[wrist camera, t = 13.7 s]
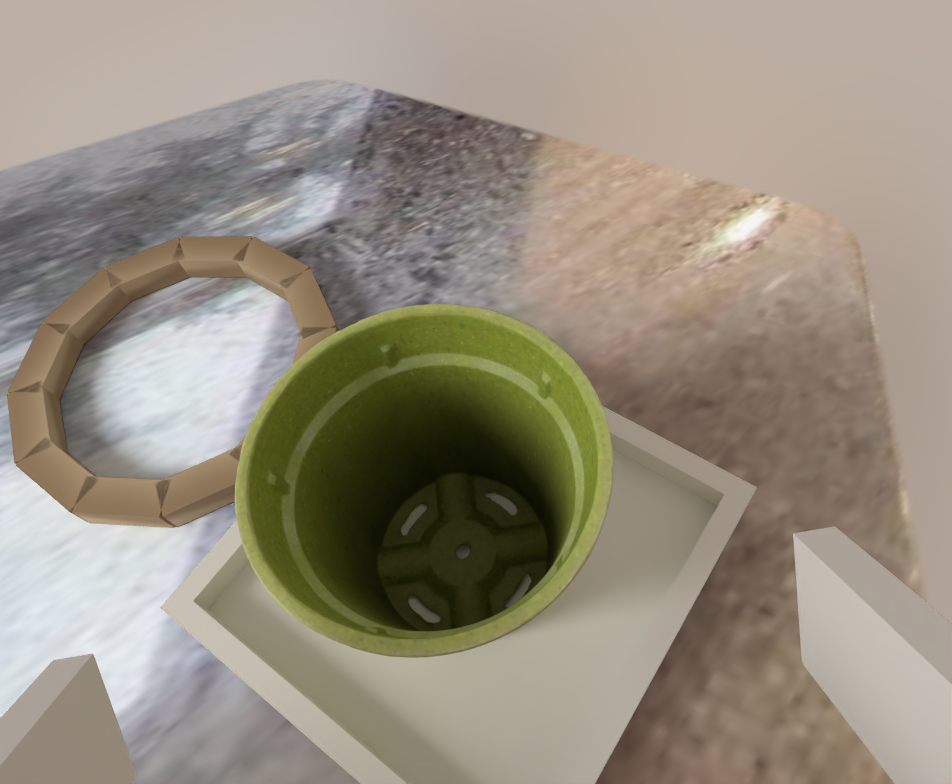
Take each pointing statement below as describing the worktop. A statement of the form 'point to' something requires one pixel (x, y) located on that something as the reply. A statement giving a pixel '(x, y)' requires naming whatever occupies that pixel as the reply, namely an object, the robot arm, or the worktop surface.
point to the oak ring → (82, 318)
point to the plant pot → (424, 479)
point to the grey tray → (501, 661)
